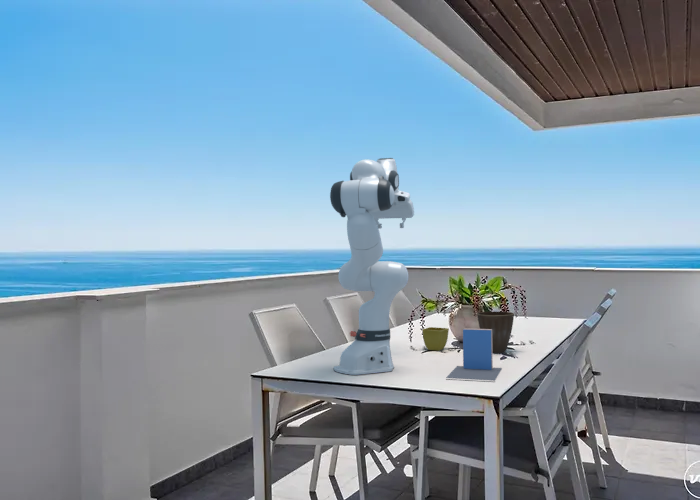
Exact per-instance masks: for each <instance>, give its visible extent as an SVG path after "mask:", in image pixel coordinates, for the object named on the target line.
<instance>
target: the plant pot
mask: <svg viewBox="0 0 700 500" xmlns="http://www.w3.org/2000/svg"><path fill="white" fill-rule="evenodd" d="M476 316H477V321H478V326H479V329H492V352H493V354H503V353H506V352H507V349H508V346H509V343H510V339H511V334H512V329H513V325H514V317H515V313H514V312H510V311H482V312H477V313H476Z"/></svg>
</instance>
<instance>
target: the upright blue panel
mask: <svg viewBox="0 0 700 500" xmlns="http://www.w3.org/2000/svg"><path fill="white" fill-rule="evenodd" d="M493 354H494V353H493V352H492V329H480V328H463V329H462V359H463V360H462V362H463V364H462V366H463V369H483V370H492V369H493V368H494V365H493V363H494V361H493V357H494V355H493Z"/></svg>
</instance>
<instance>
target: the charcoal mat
mask: <svg viewBox="0 0 700 500" xmlns="http://www.w3.org/2000/svg"><path fill="white" fill-rule="evenodd" d="M502 369H503V368H502V367H493V369H492V370H483V369H463V365H456V366H455V368H453V370H452V371H451V372H450V373H449V374H448V375H447V376H446V378H445V380H446V381H457V380H461V381H464V382H465V381H466V382H467V381H468V382H475V381H479V382H480V383H481V382H482V383H483V382H484V383H494V382H496V380H497V378H498V377H499V374H500V372H501V371H502Z"/></svg>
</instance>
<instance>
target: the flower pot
mask: <svg viewBox="0 0 700 500" xmlns="http://www.w3.org/2000/svg"><path fill="white" fill-rule="evenodd" d="M449 329H450V328H447V327H432V326H431V327H430V326H429V327H426V328H423V329H422V336H423V337H422V338H423V342H424V345H425V347H426V349H427V350H428V351H437V352H439V351H442V350H444V348H445V347H446V345H447V342H448V339H449Z"/></svg>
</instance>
